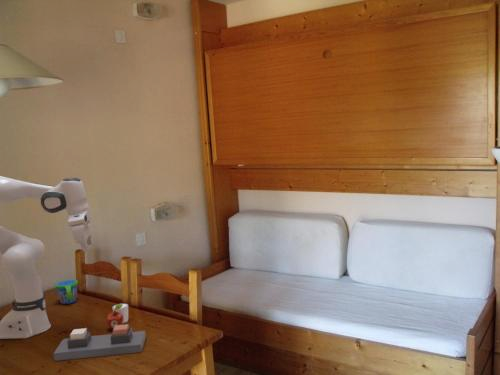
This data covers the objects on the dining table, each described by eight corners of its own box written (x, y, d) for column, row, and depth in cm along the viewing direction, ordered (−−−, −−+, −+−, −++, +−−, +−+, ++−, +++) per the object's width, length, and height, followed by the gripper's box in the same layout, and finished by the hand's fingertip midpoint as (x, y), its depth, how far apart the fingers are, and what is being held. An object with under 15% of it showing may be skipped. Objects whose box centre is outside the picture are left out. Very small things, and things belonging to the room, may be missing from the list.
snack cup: (57, 299, 258) (55, 280, 257) (79, 295, 261) (76, 276, 260) (57, 308, 243) (55, 288, 242) (80, 304, 247) (77, 284, 246)
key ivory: (70, 342, 189) (70, 334, 189) (74, 336, 194) (73, 329, 194) (84, 340, 190) (83, 333, 189) (87, 335, 195) (86, 328, 194)
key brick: (113, 337, 191) (113, 330, 190) (116, 332, 196) (115, 325, 195) (127, 336, 191) (126, 329, 191) (129, 331, 196) (128, 324, 196)
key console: (54, 361, 186) (52, 345, 185) (64, 346, 198) (62, 331, 198) (141, 352, 188) (140, 336, 187) (145, 337, 201) (144, 323, 200)
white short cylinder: (131, 318, 224) (130, 302, 223) (126, 324, 217) (125, 308, 217) (117, 318, 225) (115, 303, 224) (111, 324, 218) (109, 309, 217)
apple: (117, 332, 208) (115, 309, 207) (104, 331, 211) (101, 308, 210) (128, 325, 216) (126, 303, 214) (114, 324, 218) (112, 302, 217)
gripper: (77, 212, 216) (85, 243, 219) (66, 222, 196) (75, 256, 199) (92, 209, 217) (99, 240, 219) (83, 219, 197) (91, 252, 199)
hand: (87, 247), depth 209 cm, fingers open, 8 cm apart
